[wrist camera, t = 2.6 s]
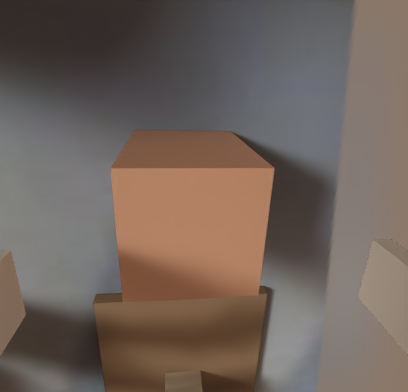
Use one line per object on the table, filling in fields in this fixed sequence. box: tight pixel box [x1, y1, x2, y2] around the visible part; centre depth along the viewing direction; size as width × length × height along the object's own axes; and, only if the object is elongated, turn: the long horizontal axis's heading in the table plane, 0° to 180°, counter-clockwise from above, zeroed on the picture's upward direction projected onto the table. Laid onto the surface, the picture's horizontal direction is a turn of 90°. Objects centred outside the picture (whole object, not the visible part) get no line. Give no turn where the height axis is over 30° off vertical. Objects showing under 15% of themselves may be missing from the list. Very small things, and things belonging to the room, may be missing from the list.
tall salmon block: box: [111, 130, 275, 303], centre depth 17 cm, size 6×6×9 cm
